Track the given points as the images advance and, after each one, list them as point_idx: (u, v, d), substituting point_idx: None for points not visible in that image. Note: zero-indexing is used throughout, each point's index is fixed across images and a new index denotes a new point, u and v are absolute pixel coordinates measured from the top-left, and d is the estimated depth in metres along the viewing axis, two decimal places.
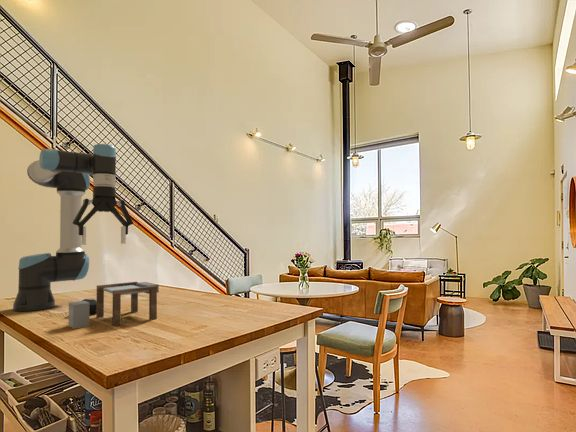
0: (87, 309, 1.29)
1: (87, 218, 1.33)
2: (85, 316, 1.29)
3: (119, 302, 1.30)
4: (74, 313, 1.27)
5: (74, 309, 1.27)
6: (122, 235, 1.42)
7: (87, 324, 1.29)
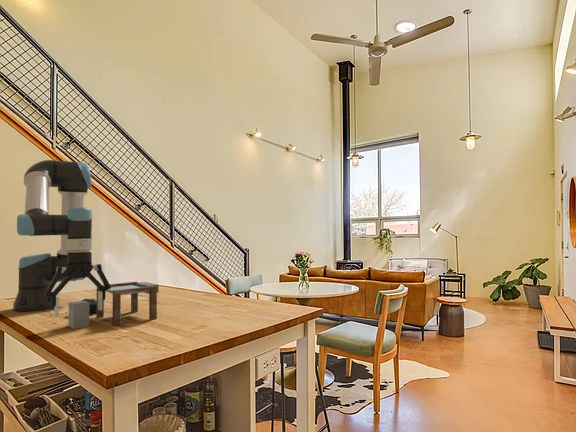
0: (87, 309, 1.29)
1: (60, 287, 1.26)
2: (85, 316, 1.29)
3: (119, 302, 1.30)
4: (74, 313, 1.27)
5: (74, 309, 1.27)
6: (99, 301, 1.34)
7: (87, 324, 1.29)
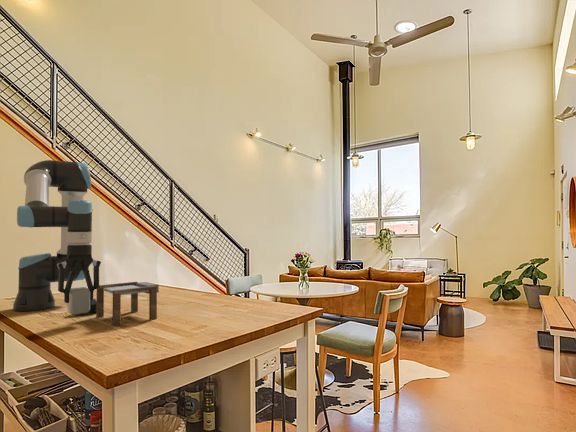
0: (87, 295, 1.30)
1: (70, 283, 1.28)
2: (85, 302, 1.30)
3: (119, 302, 1.30)
4: (74, 299, 1.28)
5: (74, 295, 1.28)
6: None
7: (87, 310, 1.30)
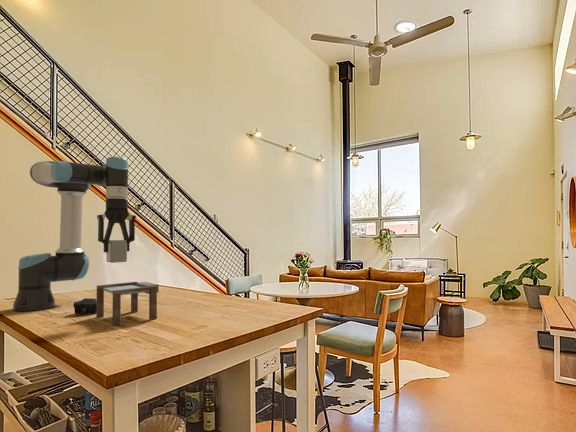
0: (124, 246, 1.39)
1: (108, 234, 1.37)
2: (122, 252, 1.38)
3: (119, 302, 1.30)
4: (113, 248, 1.36)
5: (113, 244, 1.36)
6: None
7: (124, 260, 1.39)
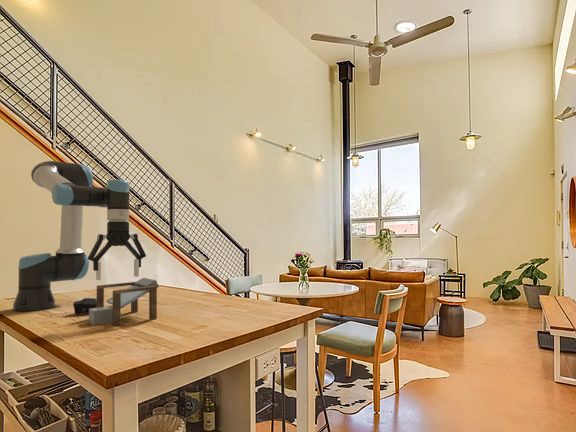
0: (100, 312, 1.33)
1: (102, 253, 1.35)
2: (107, 312, 1.34)
3: (119, 302, 1.30)
4: None
5: (98, 323, 1.32)
6: (135, 268, 1.44)
7: None
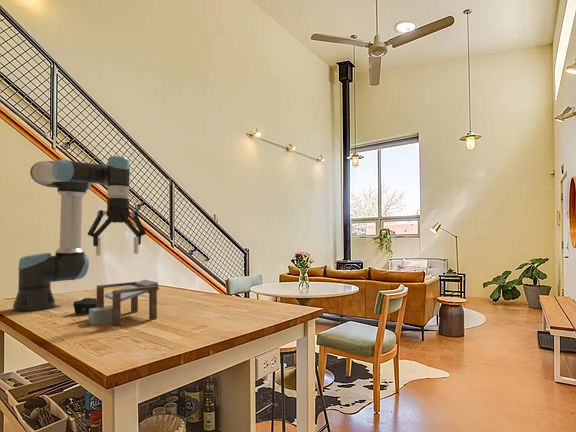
0: (101, 312, 1.33)
1: (102, 229, 1.36)
2: (108, 312, 1.34)
3: (119, 302, 1.30)
4: None
5: (99, 323, 1.32)
6: (135, 245, 1.45)
7: None
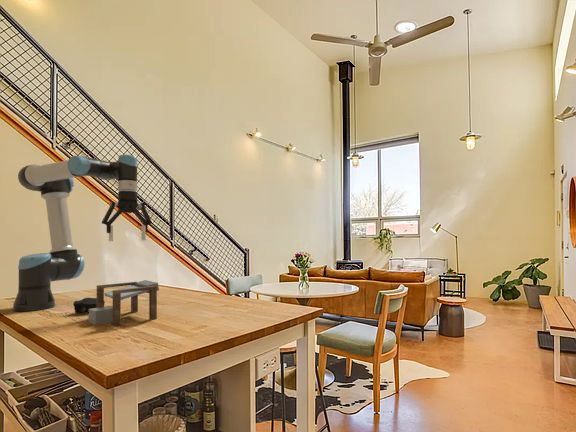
0: (102, 312, 1.33)
1: (114, 218, 1.56)
2: (108, 312, 1.35)
3: (119, 302, 1.30)
4: (104, 322, 1.33)
5: (100, 323, 1.32)
6: (142, 233, 1.65)
7: None
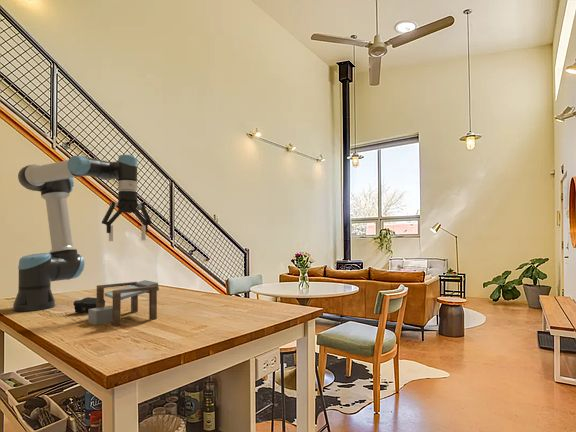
0: (102, 312, 1.33)
1: (114, 218, 1.56)
2: (109, 312, 1.35)
3: (119, 302, 1.30)
4: (104, 322, 1.33)
5: (100, 323, 1.32)
6: (142, 233, 1.65)
7: None
